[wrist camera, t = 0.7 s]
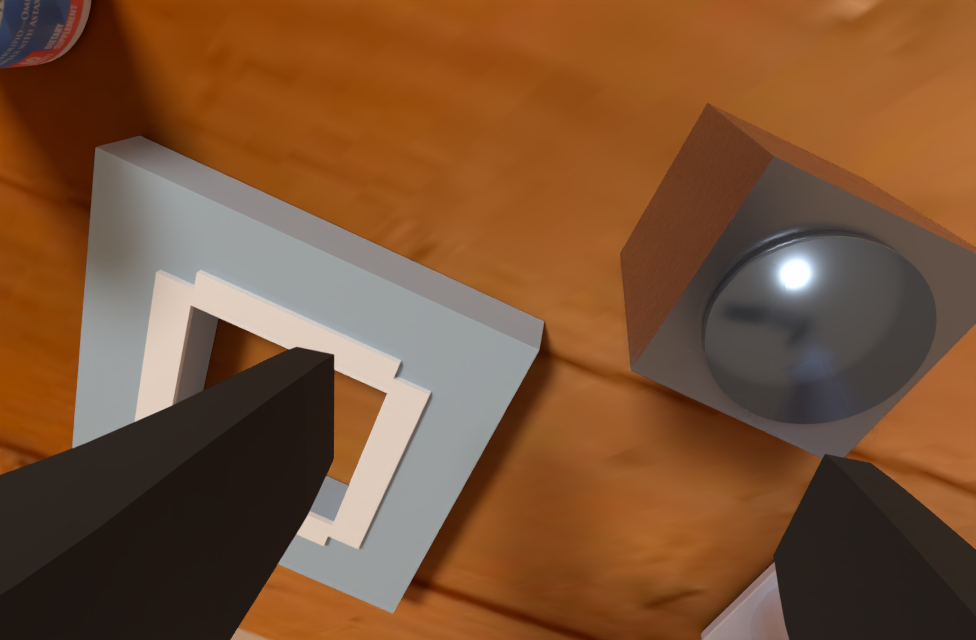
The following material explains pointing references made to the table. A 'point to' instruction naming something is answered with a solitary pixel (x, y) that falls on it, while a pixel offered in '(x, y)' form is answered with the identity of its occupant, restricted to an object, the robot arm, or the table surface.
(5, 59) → the pill bottle
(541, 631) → the table surface
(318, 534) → the mount plate
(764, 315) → the lens block
